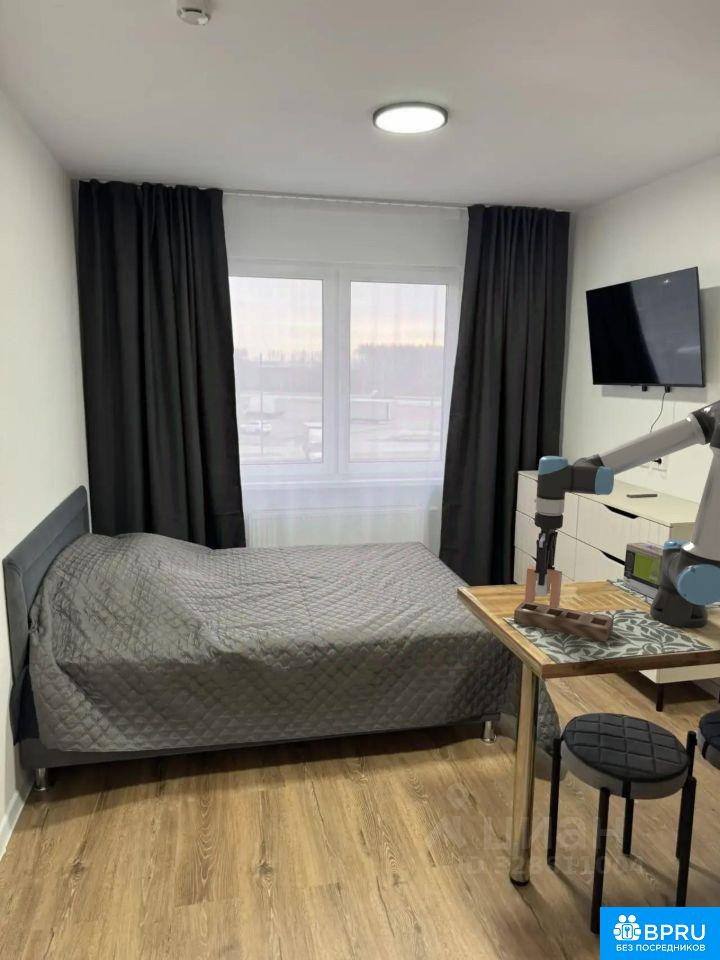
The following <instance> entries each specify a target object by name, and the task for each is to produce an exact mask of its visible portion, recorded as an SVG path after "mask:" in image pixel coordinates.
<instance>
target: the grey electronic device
mask: <svg viewBox="0 0 720 960" xmlns="http://www.w3.org/2000/svg"><path fill="white" fill-rule="evenodd" d="M663 548H664V545H660V544H657V543H655V542H650V541H642V542H632V543H631V542H630V543H626V548H625V558H624V568H623V579H622V586H623V587H625V586H626V588H628V589H631V590H633V591H635V592H637V593H640V594H642V595H645V596H647V597H649V598H651V599H654V598H655V596H656V594H657V592H658V590H659V585H660V575H661V566H662V556H663Z"/></svg>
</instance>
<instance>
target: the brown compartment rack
mask: <svg viewBox="0 0 720 960" xmlns="http://www.w3.org/2000/svg"><path fill="white" fill-rule="evenodd" d="M549 605H550V604H549ZM549 605H548V604H544V603H540V602H535V601H534V602H533V603H532V604H531V603H526V602H525V599H524V600H523V601H522V602H521V603H519V605H518V606H517V607H516V608H515V609H514V611H513V613H514V614H513V622H514V623H518V624H523V625H526V626H527V625H528V626H531V627H535V628H540V627H541V629H545V628H546V629H545V630H549V629H551V630H550V631H555V632H558V631H559V633H563V632H564V633H563V634H567V633H568V635H573V636H576V635H577V636H578V637H581V638H585V637H586V638H585V639H590V638H591V639H590V640H594V639H595V641H600V642H603V641H604V643H607V642H606V641H608V640H609V637H610V636H611V634H612V632H613V629H614V628H613V627H614V621H615V619H614V618H613V617H607V616H602V615H599V614H593V613H590V612H589V613H588V612H583V611H579V610H578V611H577V610H574V609H568V608H563V607H560V606H559V607H558V608H557V609H555V608H550V607H549ZM607 639H608V640H607Z"/></svg>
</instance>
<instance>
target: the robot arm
mask: <svg viewBox="0 0 720 960" xmlns="http://www.w3.org/2000/svg"><path fill="white" fill-rule="evenodd" d="M694 445H701V446H705V445H709V449H710V450H711V452H712V454H713V457H712V459H711V464H710V467H709V470H708V473H707V478H706V481H705V485H704V487H703V491H702V495H701V498H700V502H699V505H698V509H697V513H696V517H695V520H694V523H693V527H692V531H691V535H690V539H688V540H686V539H668V540H667V539H666V540H665V541H664V544H663V546H664V548H663V556H662V566H661V575H660V585H659V590H658V592H657V594H656V596H655V598H653V600H652V603H651V604H650V607H649V614H650V616H651V618H653V619H655V620H656V621H658V622H661V623H663V624H666V625H669V626H674V627H679V628H692V629H694V628H701V627H705V626H706V625H707V624H708V620H709V619H708V618H709V614H708V610H707V606H708V605H713V604H715V603H717V602H720V399H719V400H717V401H714V402H712V403H709V404H707V405H706V406H705V405H704V406H703V407H701V408H699V409H697V410H696V409H695V410H694V411H692V412H691V411H690V412H688V414H687V416H686V418H684V419H681V420H679V421H676V422H674V423H671V424H669V425H667V426H664V427H661V428H659V429H657V430H654V431H651V432H649V433H646V434H643V435H640V436H638V437H636V438H633V439H631V440H628V441H626V442H623V443H620V444H618V445H616V446H613V447H611V448H610V447H609V449H605V450H603V451H601V452H598V453H596V454H593V455H590V456H588V457H580V458H577V459H576V460H574V461H573V463H572V464H569V460H568V458H566V457H565V456H557V455H546V456H545V455H544V456H542V457H541V458H540V459H539V463H538V470H537V479H536V480H537V481H536V482H537V483H536V498H534V499H533V501H534V503H536V504H535V510H536V512H534V522H533V523H534V526H536V527H537V528H539V529H540V532H539V533H538V538H537V539H536V553H535V554H536V555H535V556H536V558H535V567H536V570H535V573H538V575H537V581H536V589H535V596H538V597H542V598H543V597H544V598H546V597H547V594H550V593H551V583H547V581H548V574H547V569H551V570H556V567H555V566H554V565H555V559H556V547H557V538H558V534H559V532H558V531H557V530H560V529H562V528H563V524H564V515H563V513H564V512H565V502H566V500H565V499H566V493H569V494H582V495H583V494H585V495H596V496H604V495H605V496H608V495H610V494H612V493H613V489H614V484H615V483H614V482H615V476H616V475H619V474H621V473H624V472H627V471H629V470H631V469H635V468H637V467H639V466H642V465H645V464H647V463H650V462H653V461H655V460H658V459H661V458H663V457H666V456H669V455H671V454H674V453H676V452H679V451H682V450H684V449H687V448H689V447H693V446H694Z"/></svg>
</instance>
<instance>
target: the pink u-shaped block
mask: <svg viewBox="0 0 720 960" xmlns="http://www.w3.org/2000/svg"><path fill="white" fill-rule="evenodd" d="M535 570H536V565H529V566H528V567H527V568H526V577H525V593H524V600H525V602H526V603H531V604H532V603H533V602H535V600H536V588H537V575H538V573H535ZM547 574H548V581H547V583H551V585H550V593H549V594H550V596H549V607H550V608H555V609H557V608H558V607H559V608H560V604H561V603H560V601H561V590H562V589H561V588H562V577H563V571H562V570H556V569H555V570H551V569H547Z"/></svg>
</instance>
